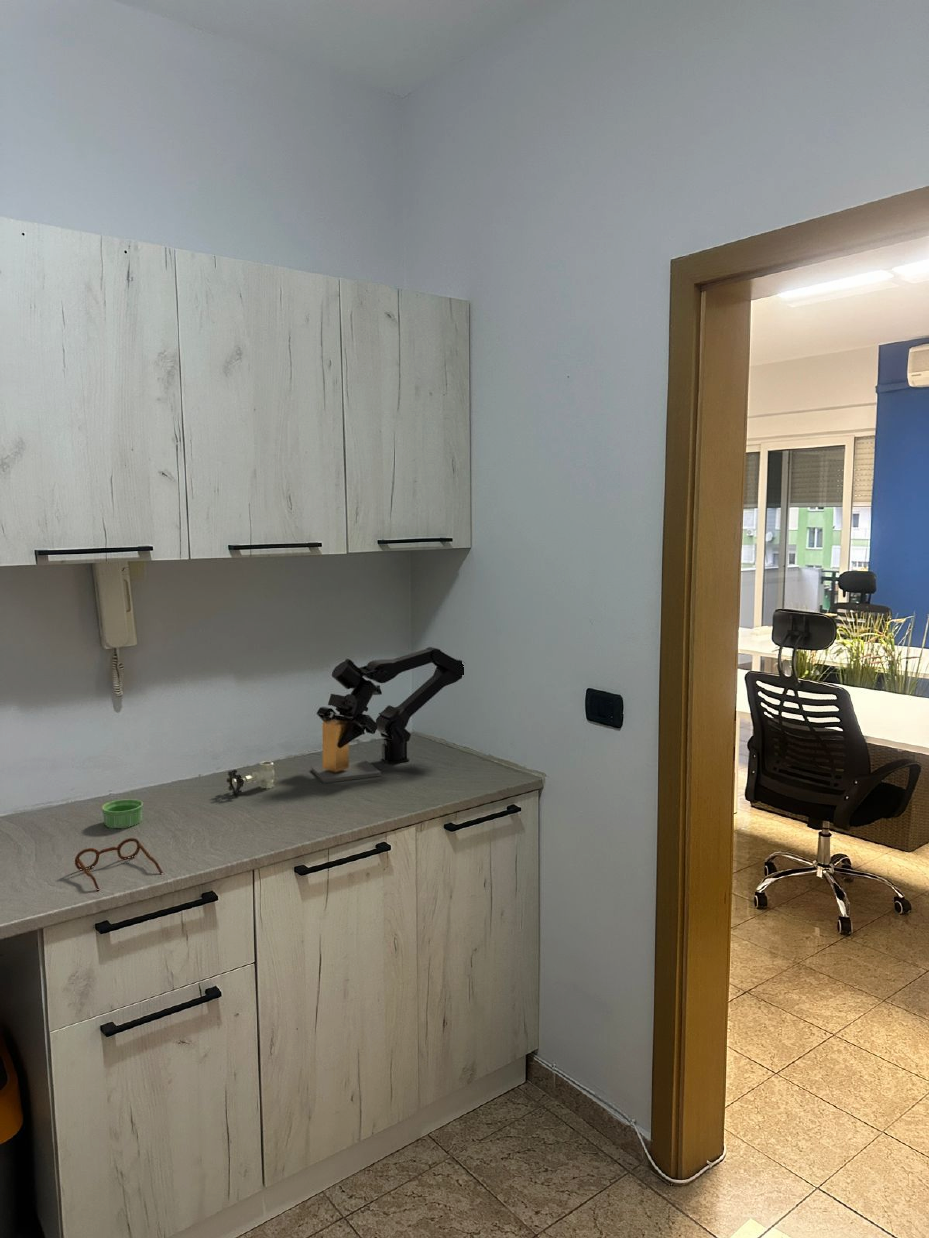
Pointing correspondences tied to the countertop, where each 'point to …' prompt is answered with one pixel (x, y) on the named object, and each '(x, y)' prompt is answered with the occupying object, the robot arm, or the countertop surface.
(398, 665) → the robot arm
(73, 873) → the countertop surface
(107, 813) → the ramekin
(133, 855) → the glasses
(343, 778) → the rubber mat
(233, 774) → the valve
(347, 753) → the wooden block
